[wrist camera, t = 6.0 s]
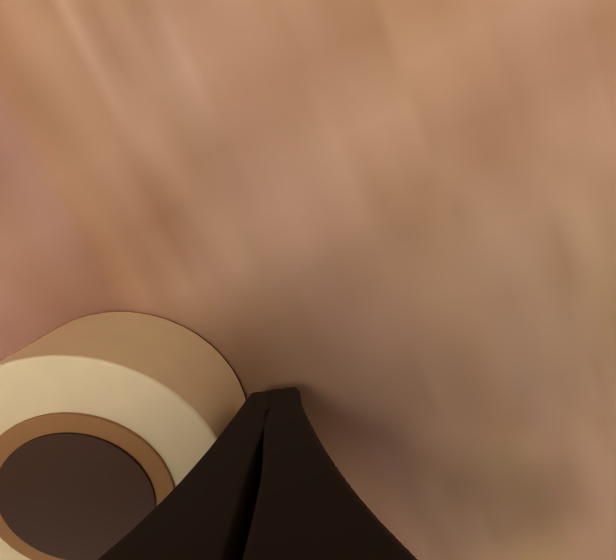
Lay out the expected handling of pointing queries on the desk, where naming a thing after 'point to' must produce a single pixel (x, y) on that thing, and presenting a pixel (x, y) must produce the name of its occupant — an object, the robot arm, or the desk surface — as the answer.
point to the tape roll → (103, 430)
